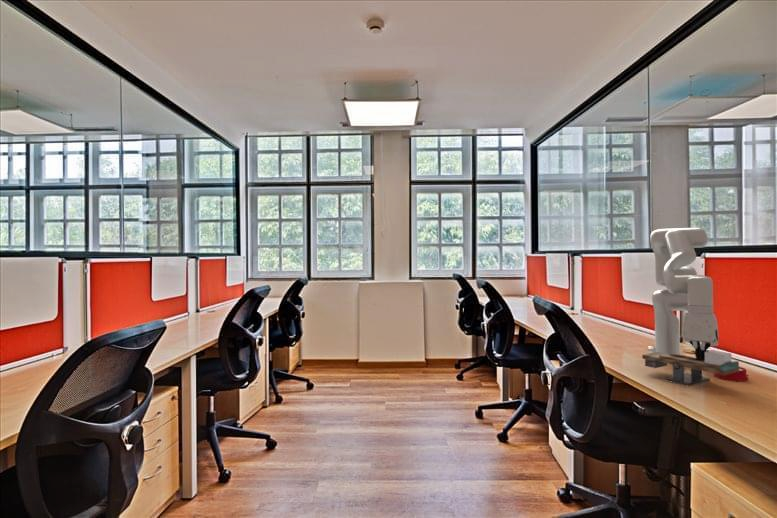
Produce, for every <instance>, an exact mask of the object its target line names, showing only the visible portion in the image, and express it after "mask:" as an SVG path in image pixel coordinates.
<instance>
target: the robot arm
mask: <svg viewBox="0 0 777 518" xmlns="http://www.w3.org/2000/svg"><path fill="white" fill-rule="evenodd" d="M649 238H650V239H649V240H650V241H649V242H650V246H651V249H652V251H653V255H654V261H655V263H654V265H655V267H654V268H655V270H654V271H655V273H654V274H655V281H656V284H657V285H658V286H660V287H664V288H666V289H659V290H656V291H654V292H653V293H652V295H651V299H652V300H651V301H652V302H651V303H652V306H653V312H654V313H653V314H654V345H655V346H649V345H648V346H647V351H648V352H651V353H654V352H660V353H665V354H670V353H673V354H679V355H681V343H680V341H681V337H680V335H681V334H682V335H681V336H682V338H683V341H684V342H685V343H686V342H687V343H689V344H690V345H692V346H693V349H694V350H695V351H694V352H695V353H694V355H695V358H696V360H700V361H703V360H705V352H706V351H708V349H709V348H711V347H718V346H719V342H718V341H719V326H718V319H717V316H716V314H714V290H713V289H714V285H713V284H714V283H713V279H712V278H711V277H709V276H707V275H702V274H701V275H699V274H698V273H697V271H696V269H695V268H694V267H693V266H689V265H691V264H693V263H694V261H696V258H697V253H696V251H695V248H696V249H697V248H698V249H699V248H702V249H703V248H705V247H706V245H707V244H708V239H709V237H708V234H707V232H706V231H705V230H704V229H703V228H702V227H681V228H680V227H678V228H677V227H676V228H659V229H656V230H653V231H652V232H651V234H650V237H649ZM674 311H675V312H676V311H677V312H680V311H682V312H683V311H684V312H685V313H684V317H683V322H682V333H681V334H680V329H681V328H680V319H679V318H678V316H677V315H676V314H675V313H674Z"/></svg>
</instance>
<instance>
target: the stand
mask: <svg viewBox="0 0 777 518" xmlns="http://www.w3.org/2000/svg"><path fill="white" fill-rule="evenodd" d="M666 380H668V381H667V382H669V381H672V382H671V383H674V382H675V384H678V383H679V385H682V384H683V385H682V386H687V385H688V386H687V387H690V385H691V386H694V384H695V385H697V384H702V383H704V382H708V381H711V378H710V377H708V376H703V371H701V370H696V369H691V368H690V372H685V367H684V366H682V365H677V364H674V365H672V376H667V377H665V381H666Z"/></svg>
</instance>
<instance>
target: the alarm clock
mask: <svg viewBox="0 0 777 518" xmlns="http://www.w3.org/2000/svg"><path fill="white" fill-rule="evenodd" d="M713 377H715V378H717V379H721V380H725V381H733V382H734V381H736V382H747V381H749V374H747V369H746V368H744V367H741V366H739V372H735V373H732V374H728V375H720V374H715V373H713Z"/></svg>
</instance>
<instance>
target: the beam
mask: <svg viewBox="0 0 777 518" xmlns="http://www.w3.org/2000/svg"><path fill="white" fill-rule="evenodd" d="M641 356H642V357H641V358H642V359H644V366H645V367H648V368H653V369H657V368H662V367H666V366H668V365H672V366H673V365H674V364H677V365H682V366H684V368H687V369H690V370H691V369H696V370H701V371H702V372H706V373H712V374H714V373H715V374H720V375H728V374H732V373H735V372H739V367H740V366H739V365H740V362H739V361H737V360H734V361H732V362H729V363H725V364H721V367H719V366H714V365H709V364H705V360H703V361H700V360H696V357H694V356H687V355H684V354H680V355H679V354H673V353H670V354H665V353H660V352H654V353H653V352H651V353H645V354H644V353H643V354H642V355H641Z"/></svg>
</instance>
